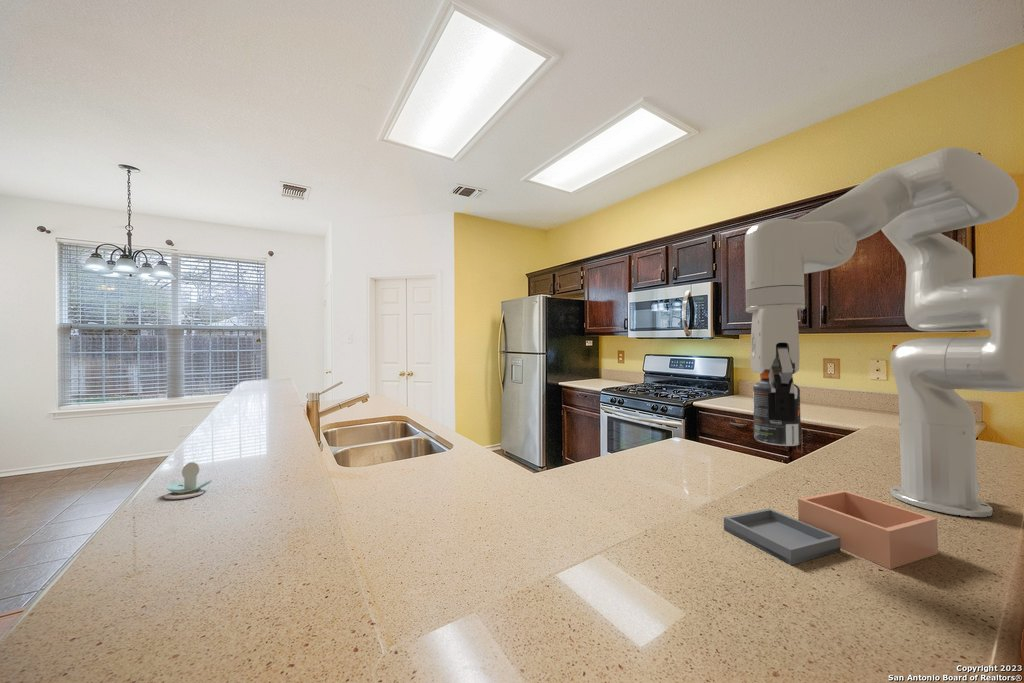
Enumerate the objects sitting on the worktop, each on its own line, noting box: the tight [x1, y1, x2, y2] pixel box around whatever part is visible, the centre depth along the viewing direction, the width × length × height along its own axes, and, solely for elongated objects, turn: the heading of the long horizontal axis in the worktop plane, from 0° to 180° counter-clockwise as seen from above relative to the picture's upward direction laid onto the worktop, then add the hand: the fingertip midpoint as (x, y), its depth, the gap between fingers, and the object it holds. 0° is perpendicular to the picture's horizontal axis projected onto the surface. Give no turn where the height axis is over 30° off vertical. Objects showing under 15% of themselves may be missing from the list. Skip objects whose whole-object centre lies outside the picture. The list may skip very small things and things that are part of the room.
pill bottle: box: [752, 369, 802, 447], centre depth 57 cm, size 6×6×11 cm
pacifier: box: [163, 461, 213, 500], centre depth 74 cm, size 7×6×6 cm
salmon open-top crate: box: [797, 489, 939, 570], centre depth 56 cm, size 11×11×5 cm
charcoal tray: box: [723, 507, 842, 566], centre depth 56 cm, size 10×10×2 cm
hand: (776, 415), depth 57 cm, fingers closed on pill bottle, 6 cm apart
